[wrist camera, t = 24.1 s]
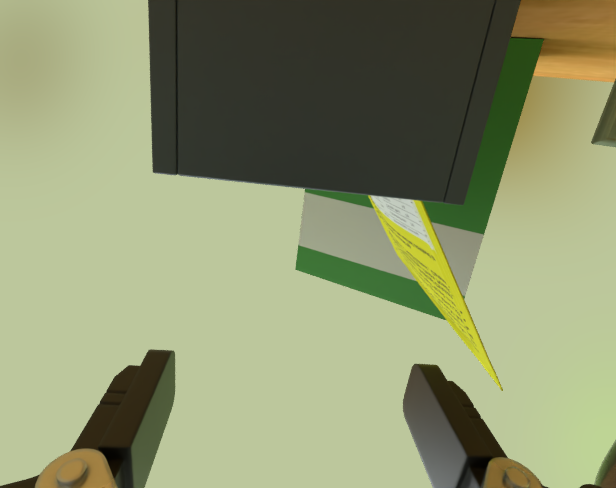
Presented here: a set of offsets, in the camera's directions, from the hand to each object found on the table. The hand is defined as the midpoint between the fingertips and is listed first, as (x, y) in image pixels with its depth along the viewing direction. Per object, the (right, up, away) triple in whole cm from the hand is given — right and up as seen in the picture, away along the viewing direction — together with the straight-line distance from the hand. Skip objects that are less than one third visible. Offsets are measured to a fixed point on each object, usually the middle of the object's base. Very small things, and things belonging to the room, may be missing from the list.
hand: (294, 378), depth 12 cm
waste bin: (+1, +18, +5) cm, 19 cm away
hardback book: (+11, +23, +21) cm, 33 cm away
